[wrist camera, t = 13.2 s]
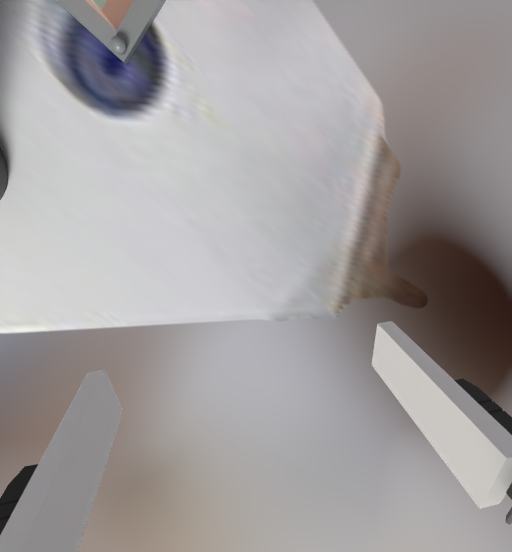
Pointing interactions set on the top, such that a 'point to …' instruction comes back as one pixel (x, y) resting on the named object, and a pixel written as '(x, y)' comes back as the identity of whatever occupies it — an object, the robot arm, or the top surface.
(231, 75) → the top surface
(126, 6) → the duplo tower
